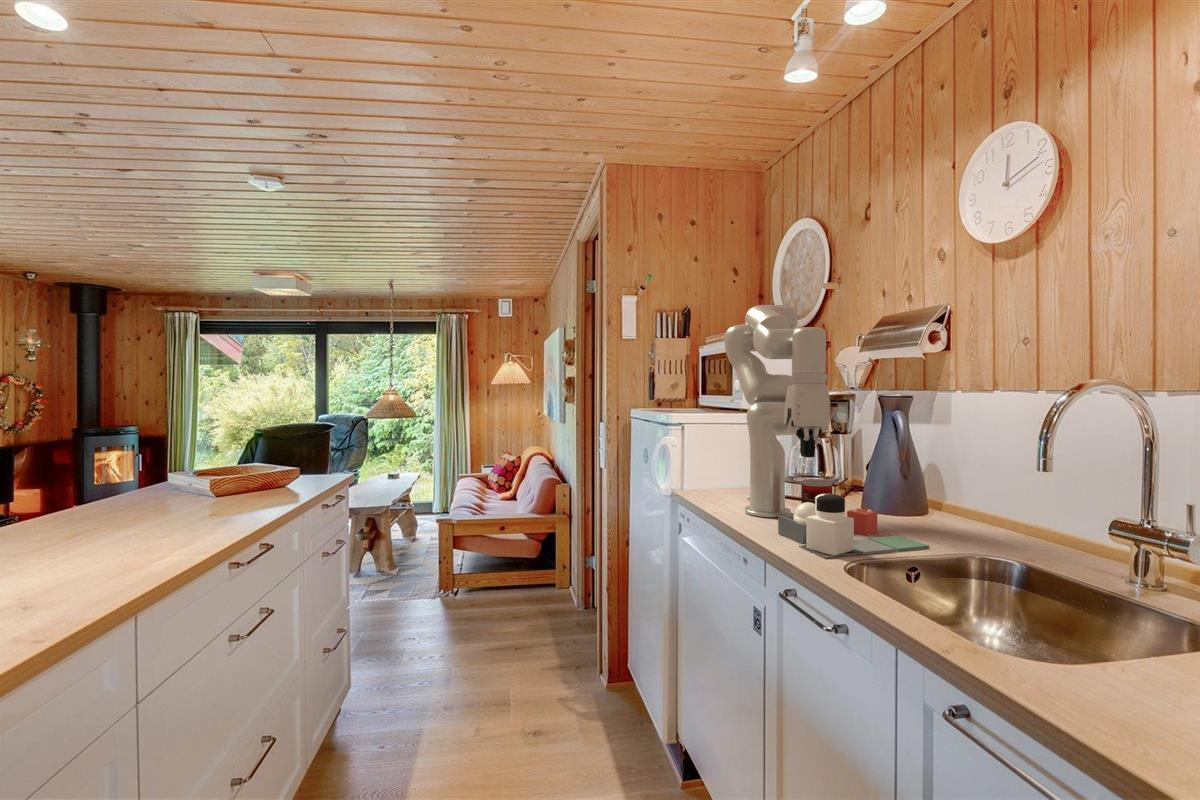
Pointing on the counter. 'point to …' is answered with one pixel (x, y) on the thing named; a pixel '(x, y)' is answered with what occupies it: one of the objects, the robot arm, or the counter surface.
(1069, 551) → the counter surface
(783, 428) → the robot arm
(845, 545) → the medicine bottle
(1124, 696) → the counter surface
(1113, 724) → the counter surface
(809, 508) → the dome
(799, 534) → the base
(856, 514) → the red die
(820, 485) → the canned food
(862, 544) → the game board
